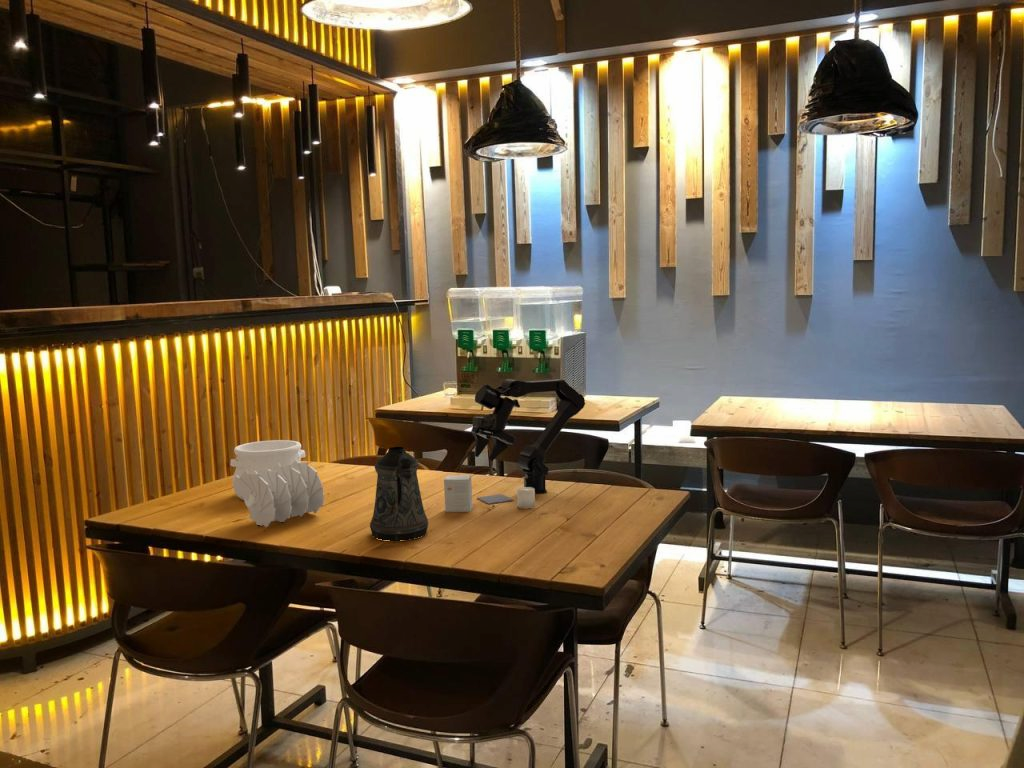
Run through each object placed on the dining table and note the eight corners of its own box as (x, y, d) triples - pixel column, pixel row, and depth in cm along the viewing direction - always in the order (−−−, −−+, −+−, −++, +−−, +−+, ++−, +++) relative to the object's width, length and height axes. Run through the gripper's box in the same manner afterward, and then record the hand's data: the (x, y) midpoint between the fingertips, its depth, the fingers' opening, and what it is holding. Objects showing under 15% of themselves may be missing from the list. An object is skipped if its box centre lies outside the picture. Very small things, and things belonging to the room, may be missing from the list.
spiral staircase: (324, 525, 261) (258, 541, 241) (291, 495, 270) (224, 509, 250) (341, 476, 256) (274, 489, 235) (306, 447, 264) (240, 457, 244)
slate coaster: (501, 495, 278) (501, 494, 278) (513, 500, 270) (513, 499, 270) (477, 498, 274) (477, 497, 274) (488, 504, 266) (488, 503, 266)
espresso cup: (530, 502, 268) (529, 485, 268) (537, 507, 261) (536, 490, 260) (513, 503, 267) (513, 486, 266) (520, 509, 259) (519, 491, 259)
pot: (292, 483, 305) (289, 436, 303) (320, 495, 285) (318, 445, 283) (221, 495, 289) (218, 445, 287) (246, 508, 270) (243, 455, 268)
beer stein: (401, 522, 248) (397, 440, 245) (448, 533, 235) (445, 446, 233) (358, 536, 235) (354, 449, 232) (405, 548, 223) (401, 456, 220)
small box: (472, 507, 263) (471, 475, 262) (470, 512, 258) (469, 479, 257) (448, 507, 264) (446, 475, 263) (444, 512, 259) (443, 479, 257)
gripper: (467, 402, 277) (450, 446, 274) (497, 407, 261) (478, 453, 258) (493, 415, 283) (476, 458, 280) (523, 421, 267) (505, 466, 264)
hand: (483, 458), depth 270 cm, fingers open, 9 cm apart
